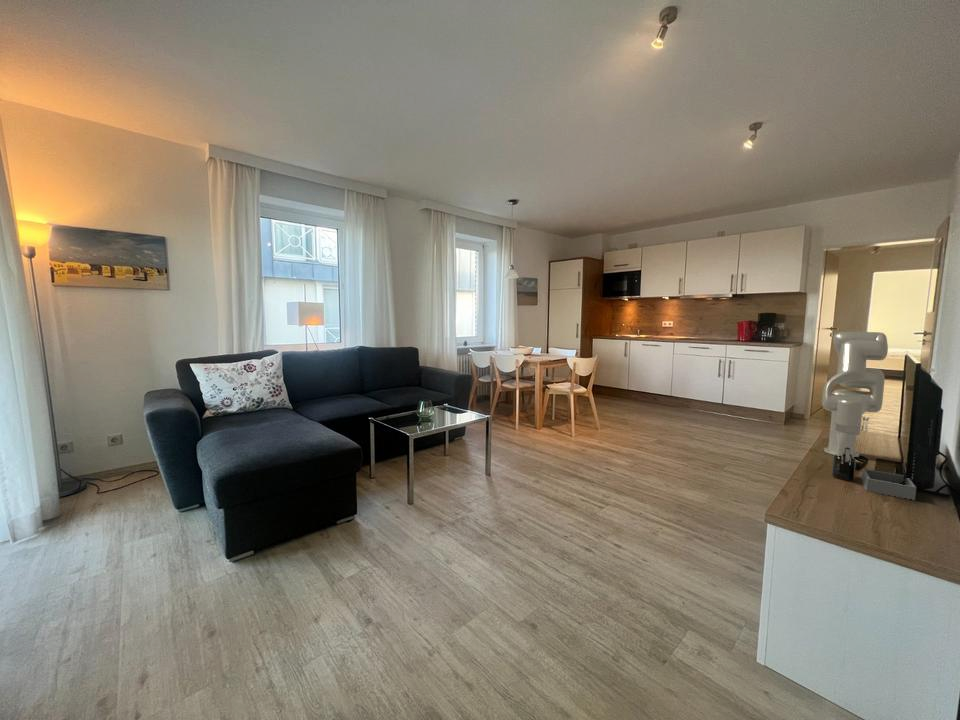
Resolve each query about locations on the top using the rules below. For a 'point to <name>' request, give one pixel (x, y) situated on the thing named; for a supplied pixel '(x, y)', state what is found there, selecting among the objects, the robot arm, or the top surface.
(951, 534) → the top surface
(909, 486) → the bin
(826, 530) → the top surface
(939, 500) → the top surface
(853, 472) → the supplement bottle
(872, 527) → the top surface
